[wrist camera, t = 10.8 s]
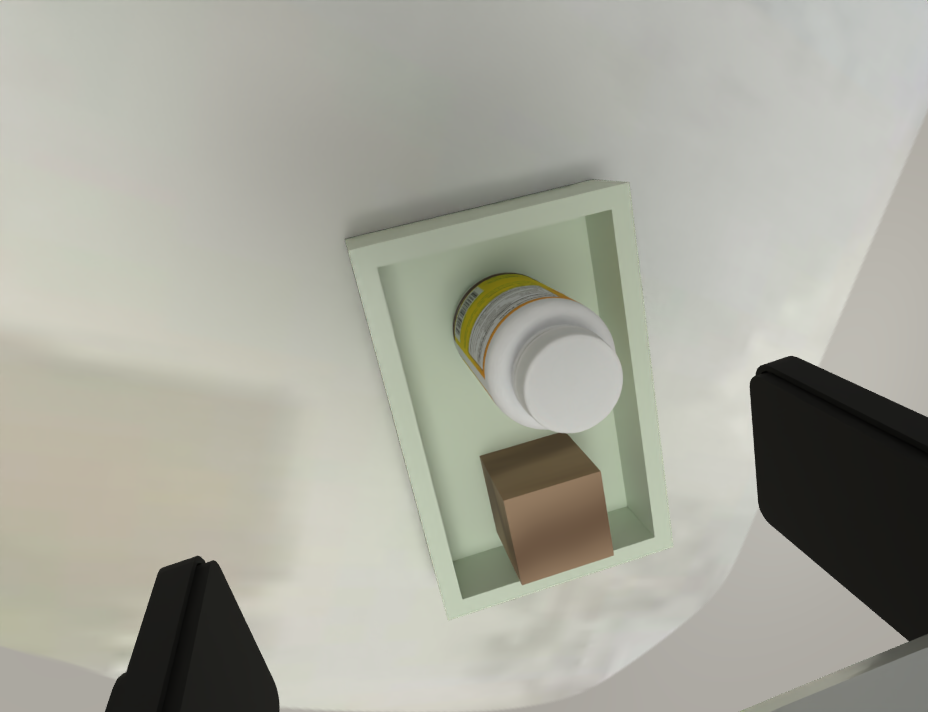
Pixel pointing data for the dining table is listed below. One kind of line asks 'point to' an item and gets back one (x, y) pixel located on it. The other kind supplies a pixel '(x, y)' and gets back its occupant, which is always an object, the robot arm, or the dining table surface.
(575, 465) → the walnut block
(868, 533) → the robot arm
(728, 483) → the dining table surface
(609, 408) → the supplement bottle
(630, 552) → the tote
